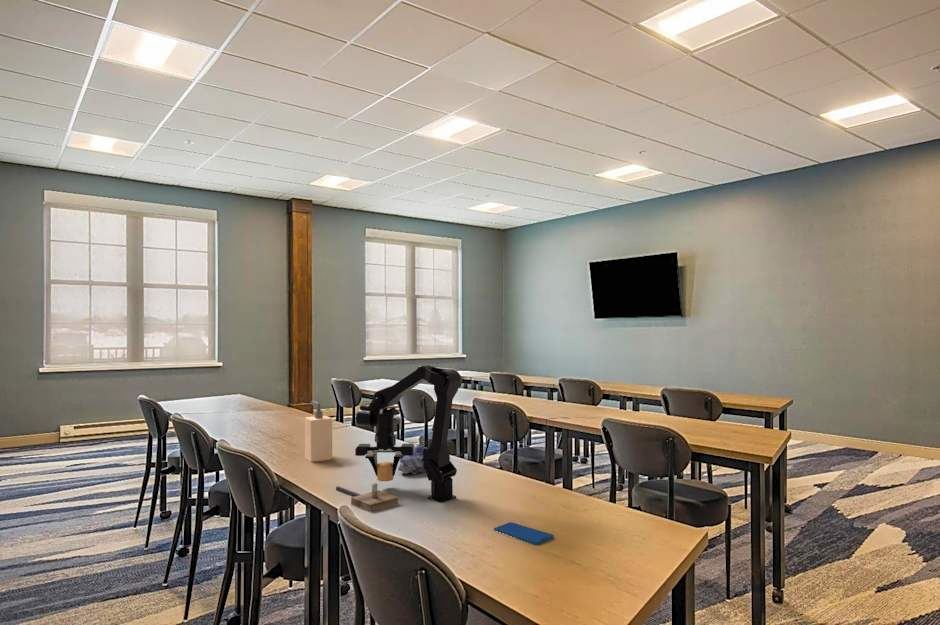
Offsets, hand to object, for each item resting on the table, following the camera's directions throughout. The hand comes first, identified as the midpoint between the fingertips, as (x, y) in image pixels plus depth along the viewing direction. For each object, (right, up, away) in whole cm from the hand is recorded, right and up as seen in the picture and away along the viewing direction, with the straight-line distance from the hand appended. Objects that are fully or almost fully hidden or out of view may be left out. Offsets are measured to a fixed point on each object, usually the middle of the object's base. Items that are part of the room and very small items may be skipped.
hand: (385, 476), depth 189 cm
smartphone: (+41, -4, -41) cm, 58 cm away
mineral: (+8, -5, +21) cm, 23 cm away
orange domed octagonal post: (0, -1, 0) cm, 1 cm away
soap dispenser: (-34, -5, +43) cm, 55 cm away
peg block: (-1, -4, -16) cm, 17 cm away
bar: (-10, -4, -7) cm, 13 cm away
